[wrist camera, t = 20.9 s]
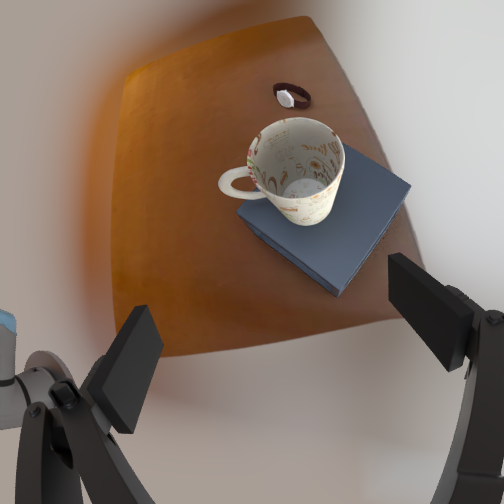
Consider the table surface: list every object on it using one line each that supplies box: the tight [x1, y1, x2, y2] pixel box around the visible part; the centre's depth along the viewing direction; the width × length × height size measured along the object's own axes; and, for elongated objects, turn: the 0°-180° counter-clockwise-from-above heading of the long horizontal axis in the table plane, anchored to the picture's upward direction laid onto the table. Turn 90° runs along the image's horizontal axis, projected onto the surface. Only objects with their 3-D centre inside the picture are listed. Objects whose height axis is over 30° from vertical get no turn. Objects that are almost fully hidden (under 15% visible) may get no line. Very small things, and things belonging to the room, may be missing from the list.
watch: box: [273, 83, 311, 109], centre depth 46 cm, size 8×5×4 cm, turn 45°
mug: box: [218, 118, 345, 226], centre depth 29 cm, size 8×13×10 cm, turn 92°
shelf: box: [236, 142, 411, 298], centre depth 37 cm, size 15×15×9 cm
